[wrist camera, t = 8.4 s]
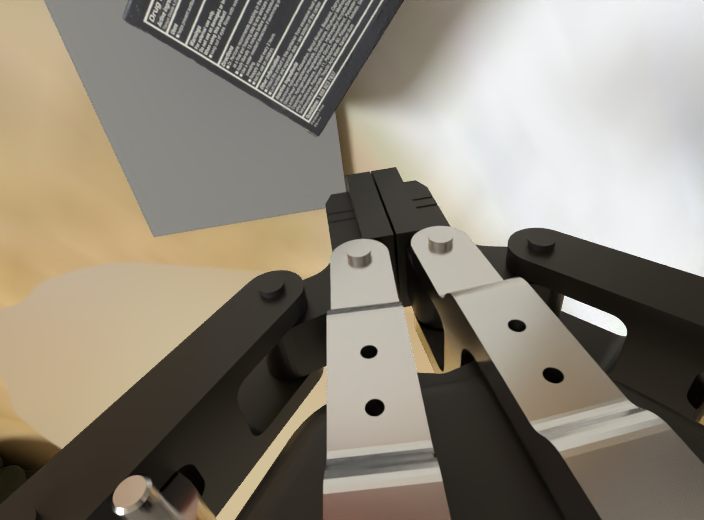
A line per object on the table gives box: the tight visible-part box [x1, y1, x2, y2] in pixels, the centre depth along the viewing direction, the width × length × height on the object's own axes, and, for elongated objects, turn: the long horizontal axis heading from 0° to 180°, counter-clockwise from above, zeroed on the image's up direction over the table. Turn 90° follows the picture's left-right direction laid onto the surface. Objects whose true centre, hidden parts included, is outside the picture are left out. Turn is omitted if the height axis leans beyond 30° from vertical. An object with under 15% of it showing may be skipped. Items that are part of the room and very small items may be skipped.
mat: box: [44, 0, 346, 237], centre depth 27 cm, size 15×20×1 cm
